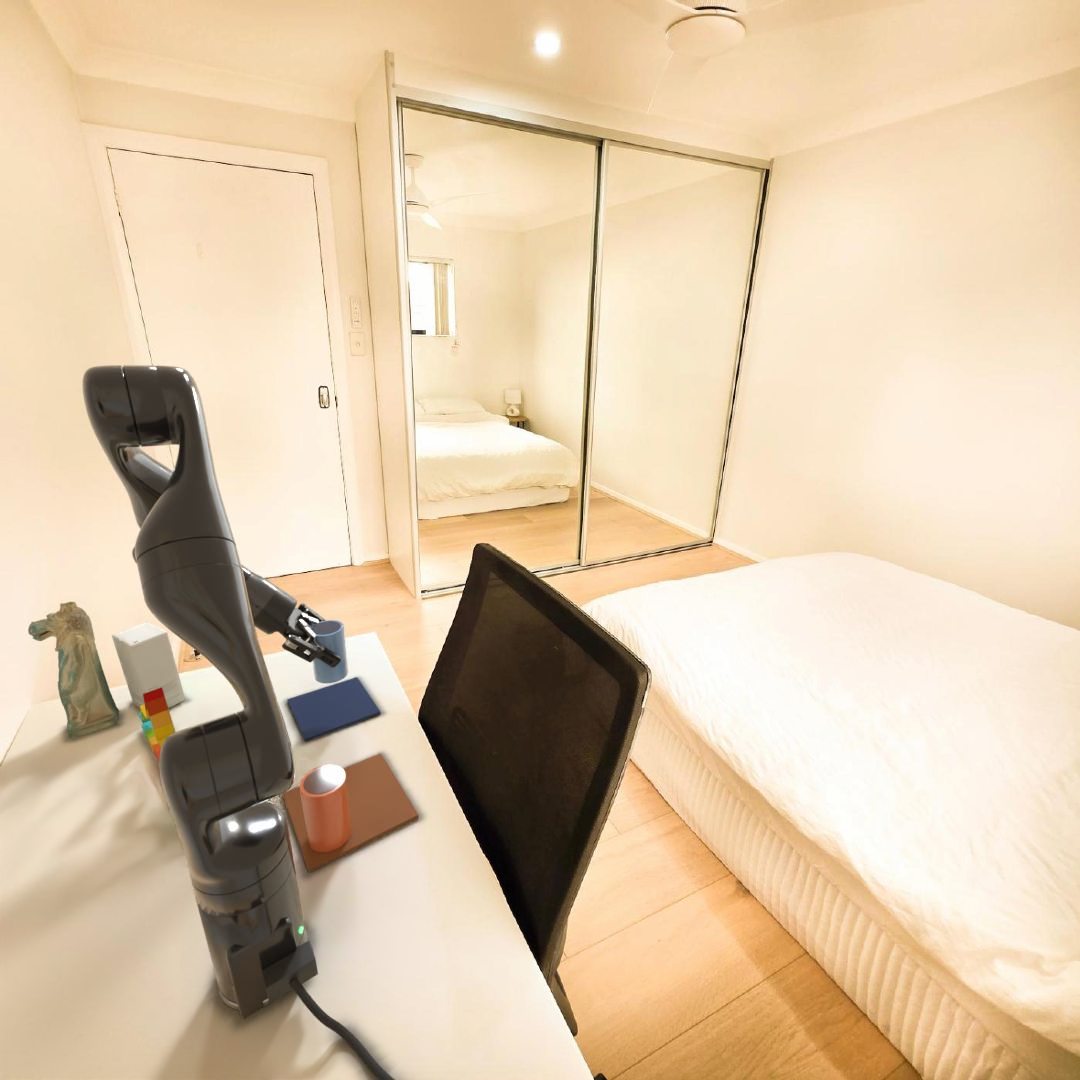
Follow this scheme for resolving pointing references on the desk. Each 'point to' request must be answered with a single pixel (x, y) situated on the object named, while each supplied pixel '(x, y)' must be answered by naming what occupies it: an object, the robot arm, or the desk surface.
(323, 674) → the blue tumbler
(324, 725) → the navy mat
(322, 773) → the terracotta tumbler
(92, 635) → the statue
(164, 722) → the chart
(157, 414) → the robot arm
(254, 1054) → the desk surface
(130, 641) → the cosmetic box
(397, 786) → the brown mat
